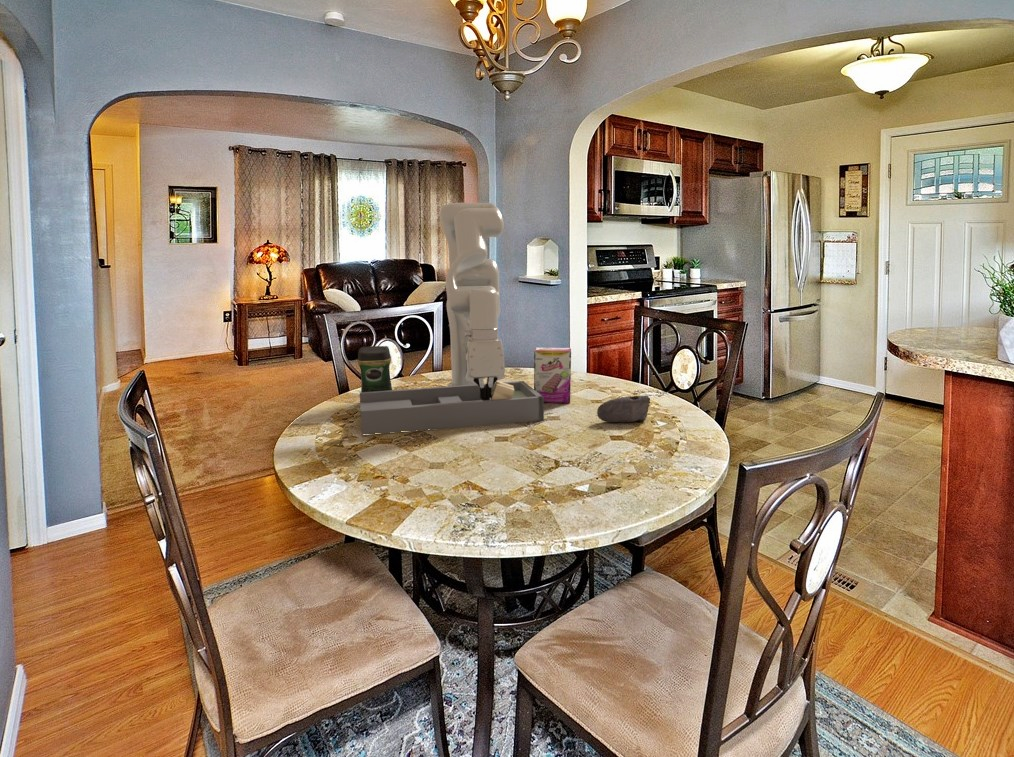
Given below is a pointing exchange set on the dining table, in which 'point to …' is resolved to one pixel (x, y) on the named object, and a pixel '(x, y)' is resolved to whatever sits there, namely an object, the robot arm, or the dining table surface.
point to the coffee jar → (375, 368)
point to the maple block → (502, 391)
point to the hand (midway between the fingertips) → (485, 400)
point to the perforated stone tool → (624, 409)
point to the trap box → (446, 408)
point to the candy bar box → (553, 374)
